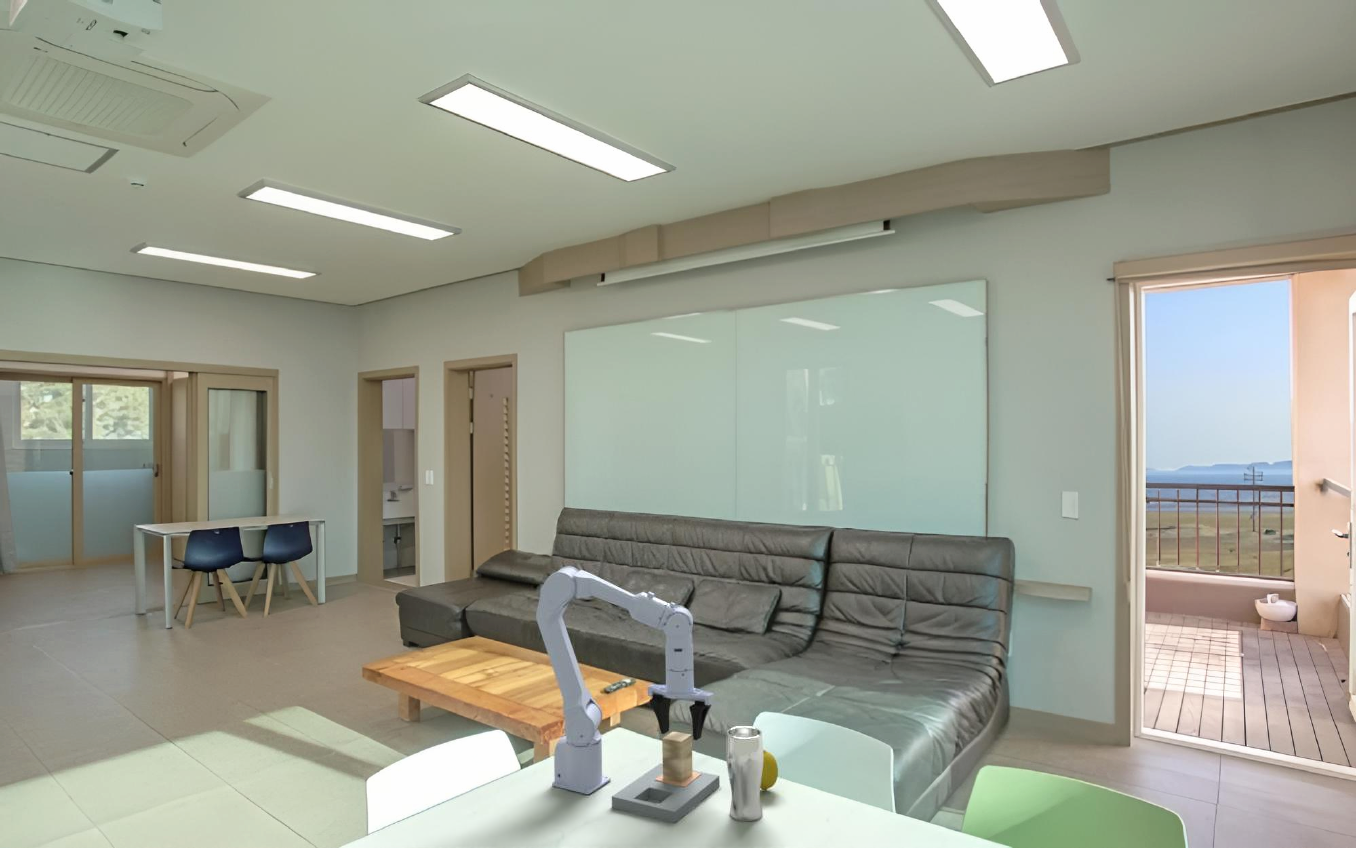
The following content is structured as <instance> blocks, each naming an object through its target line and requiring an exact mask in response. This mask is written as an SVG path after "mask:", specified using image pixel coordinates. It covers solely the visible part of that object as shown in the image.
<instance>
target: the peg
mask: <svg viewBox="0 0 1356 848" xmlns="http://www.w3.org/2000/svg"><path fill="white" fill-rule="evenodd" d="M661 741H662V745H661V746H662V764H663V779H666V780H671V781H675V782H680V783H683V782H684V781H685V780H687V779H688V778H689V777H690V776H692V775H693V770H694V769H693V734H692V733H691V734H690V733H684V732H678V731H671V732H670V733H668V734H667V735H665V736H663V737H662V740H661Z"/></svg>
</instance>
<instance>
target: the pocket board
mask: <svg viewBox="0 0 1356 848" xmlns="http://www.w3.org/2000/svg"><path fill="white" fill-rule="evenodd" d="M692 770H693V775H692V776H690V777H689V778H688V779H687V780H685V781H684V782H683V783H680V782H675V781H671V780H666V779H663V763H661V762H660V763H659V764H657V765H656V766H654V767H653V768H651V769H650V770H648V771H647V772H645V773H644V774H643V775H641V776H639V778H636V779H635V780H633V781H632V782H631V783H630V784H628V785H627V786H625V787H623V788H622V789H620V790H619V791H617V792H616V793H615V794H613V795H612V796H611V808H614V809H617V810H622V811H626V812H629V813H633V814H637V815H641V816H645V817H649V818H653V819H657V820H661V821H666V822H669V823H673V824H677V822H678V821H679V820H681V819H682V818H683V817H685V815H687V814H688V813H689V812H690V811H692V810H693V809H694V808H695V807H696V806H698V805H699V804H700V803H701V802H702V801H703V800H704V799H705V798H707V797H708V796H709V795H710V794H712V793H713V792H714V791H715V790H716V789H718V788H719V787H720V786H721V785H720V784H721V783H720V775H716V774H712V773H708V772H705V771H699V770H694V769H692ZM648 799H653V800H658V801H661V802H660V803H659V804H658V803H653V802H649V801H647V800H648Z"/></svg>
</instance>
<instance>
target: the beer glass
mask: <svg viewBox="0 0 1356 848" xmlns="http://www.w3.org/2000/svg"><path fill="white" fill-rule="evenodd" d="M762 733H763V732H762V730H760V729H759V728H757V727H754V726H749V725H748V726H747V725H746V726H745V725H744V726H743V725H742V726H734V727H731V728H729V729H727V731H726V746H725V753H726V754H725V759H726V760H725V761H726V766H727V768H726V769H727V774H728V779H729V784H730V791H731V803H730V809H729V815H730V817H731V818H732V819H734V820H736V821H740V822H744V823H745V822H746V823H747V822H748V823H749V822H755V821H757V820H759V819H761V818H762V817H763V807H762V803H761V788H760V786H761V779H762V772H763V750H764V744H763V743H764V742H763V734H762Z"/></svg>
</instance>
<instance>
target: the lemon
mask: <svg viewBox="0 0 1356 848" xmlns="http://www.w3.org/2000/svg"><path fill="white" fill-rule="evenodd" d="M778 776H779V768H778V762H777V760H776V758H775V756H774V755H773V754H772V753H771V752H769V751H766V749H763V772H762V779H761V786H760V790H762V791H763V792H766V791H767V790H768V789H770V788H772V787H773V786H774V785H776V783H777V780H778V778H779V777H778Z"/></svg>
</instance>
